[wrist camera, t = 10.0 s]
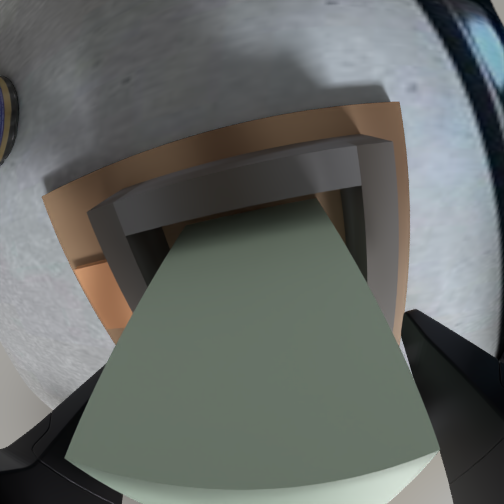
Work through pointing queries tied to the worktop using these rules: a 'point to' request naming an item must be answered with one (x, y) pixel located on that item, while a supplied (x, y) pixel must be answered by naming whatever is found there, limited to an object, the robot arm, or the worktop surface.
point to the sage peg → (256, 375)
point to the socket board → (242, 200)
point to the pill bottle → (7, 117)
